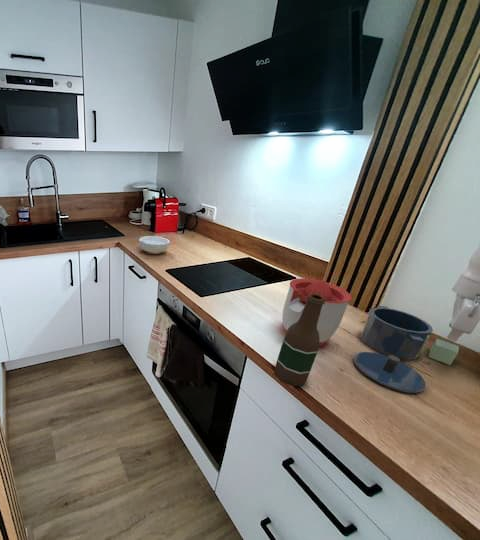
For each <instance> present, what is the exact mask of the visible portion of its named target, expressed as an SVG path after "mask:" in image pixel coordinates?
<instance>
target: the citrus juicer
mask: <svg viewBox="0 0 480 540" xmlns="http://www.w3.org/2000/svg"><path fill="white" fill-rule="evenodd" d="M309 294H316V295H320V296H322V297H323V298H325V304H323V305H322V308H321V312H320V316H319V319H318V323H317V330H318V332H319V338H320V345H319V347H321V346H323V345H325V344H326V343H327V342H328V341H330V340H331V338H332V337H333V336H334V334H336V332H337V330H338V329H339V327H340V325H341V322H342V320H343V317H344V315H345V312H346V310H347V308H348V306H349V303H350V302H351V301H352V295H351V293H349V292H348V291H347V290H346V289H344V288H343V287H340V286H338V285H336V284H334V283H330V282H328V281H325V280H323V279H320V280H319V279H315V278H314V279H313V278H305V277H304V278H302V277H301V278H294V279H292V280H290V282H289V288H288V291H287V294H286V298H285V301H284V304H283V309H282V317H281V318H282V319H281V320H282V323H281V325H282V330H283V333H284V335H285V334H286V332H287V329H288V328H289V327H290V326H291V325H292V324H294V323H296V322H297V321H298V320H299V318H300V316H301V314H302V312H303V309H304V307H305V304H306V302H307V296H308V295H309Z"/></svg>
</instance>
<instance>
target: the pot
mask: <svg viewBox="0 0 480 540" xmlns="http://www.w3.org/2000/svg"><path fill="white" fill-rule="evenodd" d="M433 331H434V330H433V327H432V325H431V324H429V323H428V322H427V321H426V320H424V319H422V318H420V317H418V316H416V315H413V314H411V313H409V312H405V311H402V310H398V309H395V308H389V307H388V306H386V305H385V306H384V305H378V306H377V307H374V308H372V309H370V311H369V314H368V316H367V318H366V320H365V323H364V325H363V327H362V329H361V332H360V335H359V337H360V340H361V341H362V343H364V345H366V346H367V347H369V348H370V349H372V350H373V351H375V352H376V353H378V354H382V355H385V356H389V355H393V356H396V357H397V358H399V359H400V360H403V361H413V360H416V359H418V357H419V356H420V354H421V352H422V351H423V349H424V347H425V345H426V343H427V342H428V340H429V339H430V336H431V335H432V333H433Z"/></svg>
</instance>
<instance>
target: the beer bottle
mask: <svg viewBox="0 0 480 540" xmlns="http://www.w3.org/2000/svg"><path fill="white" fill-rule="evenodd" d="M323 304H325V298H323V297H322V296H320V295H316V294H309V295H308V296H307V302H306V304H305V307H304V309H303V312H302V314H301V316H300V318H299V320H298V321H297V322H296V323H294V324H292V325H291V326H290V327H289V328H288V329H287V332H286V334H285V333H284V337H283V340H282V343H281V347H280V350H279V353H278V355H277V359H276V363H275V367H274V371H273V373H274V374H273V375H274V376H276V378H277V379H278V380H279V381H280V382H281V383H283V384H285V385H289V386H291V387H293V388H294V387H301V386H304V385H306V383H307V381H308V378H309V375H310V373H311V370H312V368H313V365H314V362H315V360H316V357H317V355H318V352H319V349H320V346H319V345H320V338H319V332H318V330H317V323H318V319H319V316H320V312H321V308H322V305H323Z"/></svg>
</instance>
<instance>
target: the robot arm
mask: <svg viewBox="0 0 480 540" xmlns="http://www.w3.org/2000/svg"><path fill="white" fill-rule="evenodd" d="M451 290H452V291H453V292H454V293H456V294H455V300H454V303H453V308H452V314H451V315H452V316H451V320H450V322H449V324H448V326H449V328H451V330H450V331H449V333H448V335H446V338H447V340H449V341H451V342H455V343H456V342H457V341H458V340H459V338H460V337H461V336H463V334H466V335H471V334H472V333H473V332H474V330H475V329H476V328H477V326H478V324H479V323H480V243H479V244H478V245H477V247H476V248H475V250H474V251H473V253H472V255H471V257H470V258H469V261H468V266H467V267H466V268H465V269H464V270H463V271H462V272H461V273H460V274H459V276H458V278H457V280H456V281H455V283H454V285H453V287H452V289H451Z"/></svg>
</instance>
